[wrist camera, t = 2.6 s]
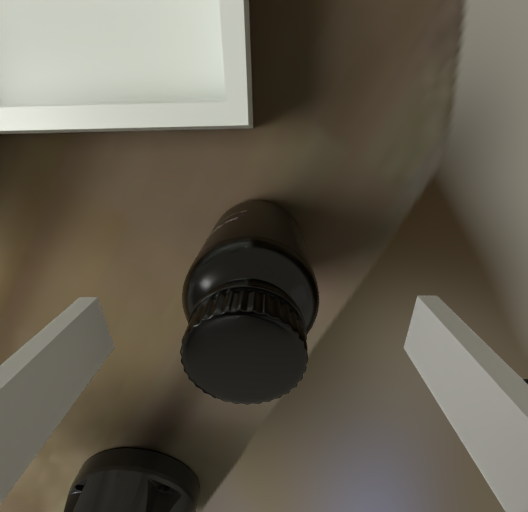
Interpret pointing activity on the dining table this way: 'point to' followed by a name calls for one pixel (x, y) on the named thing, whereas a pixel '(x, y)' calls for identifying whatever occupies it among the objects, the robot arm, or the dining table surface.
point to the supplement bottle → (249, 306)
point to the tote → (124, 65)
